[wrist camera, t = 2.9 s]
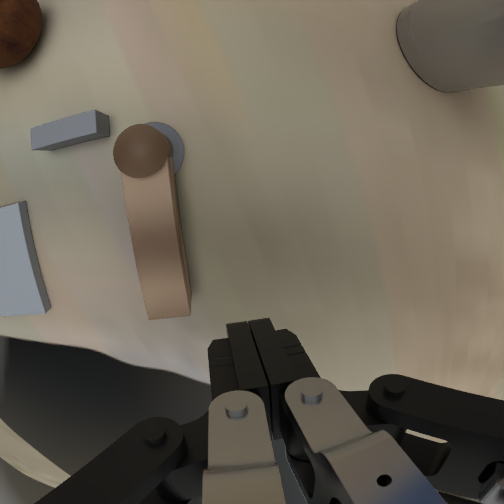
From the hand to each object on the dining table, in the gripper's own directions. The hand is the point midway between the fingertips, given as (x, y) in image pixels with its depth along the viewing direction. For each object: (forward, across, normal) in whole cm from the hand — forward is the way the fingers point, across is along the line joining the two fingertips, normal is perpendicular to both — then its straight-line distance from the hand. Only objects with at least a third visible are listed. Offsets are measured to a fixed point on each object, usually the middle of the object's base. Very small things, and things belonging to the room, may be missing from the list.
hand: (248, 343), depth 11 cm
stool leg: (+12, +4, -3) cm, 13 cm away
